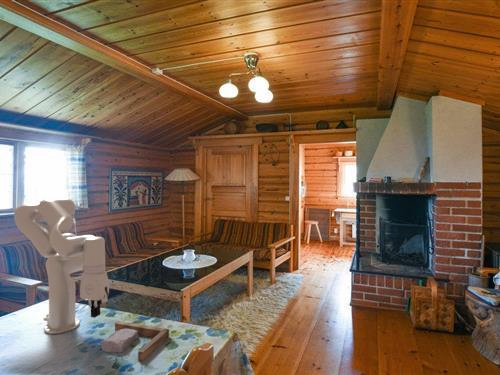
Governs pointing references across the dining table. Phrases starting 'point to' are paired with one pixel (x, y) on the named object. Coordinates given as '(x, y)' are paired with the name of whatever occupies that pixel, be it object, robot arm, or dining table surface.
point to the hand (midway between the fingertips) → (95, 315)
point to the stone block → (119, 340)
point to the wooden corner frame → (155, 332)
